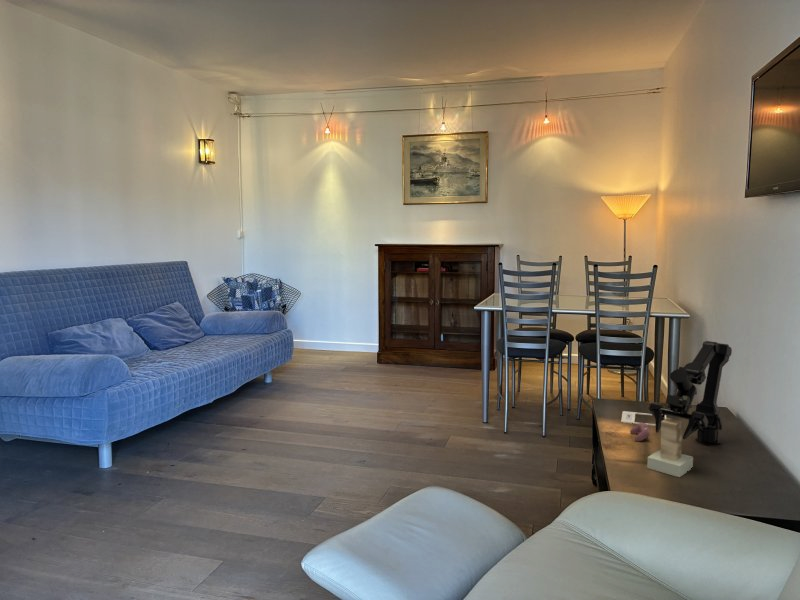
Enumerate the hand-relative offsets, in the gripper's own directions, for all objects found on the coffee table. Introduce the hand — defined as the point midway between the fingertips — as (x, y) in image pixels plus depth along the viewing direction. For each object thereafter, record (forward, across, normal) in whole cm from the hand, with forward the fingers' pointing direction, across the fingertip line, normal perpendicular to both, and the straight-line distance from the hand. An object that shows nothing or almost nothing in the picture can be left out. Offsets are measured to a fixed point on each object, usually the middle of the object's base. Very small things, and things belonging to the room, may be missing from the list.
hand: (669, 435), depth 198 cm
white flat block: (+8, 0, +9) cm, 12 cm away
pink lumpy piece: (-7, -21, +24) cm, 32 cm away
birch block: (+5, 0, +6) cm, 8 cm away
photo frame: (-22, -29, +40) cm, 54 cm away
